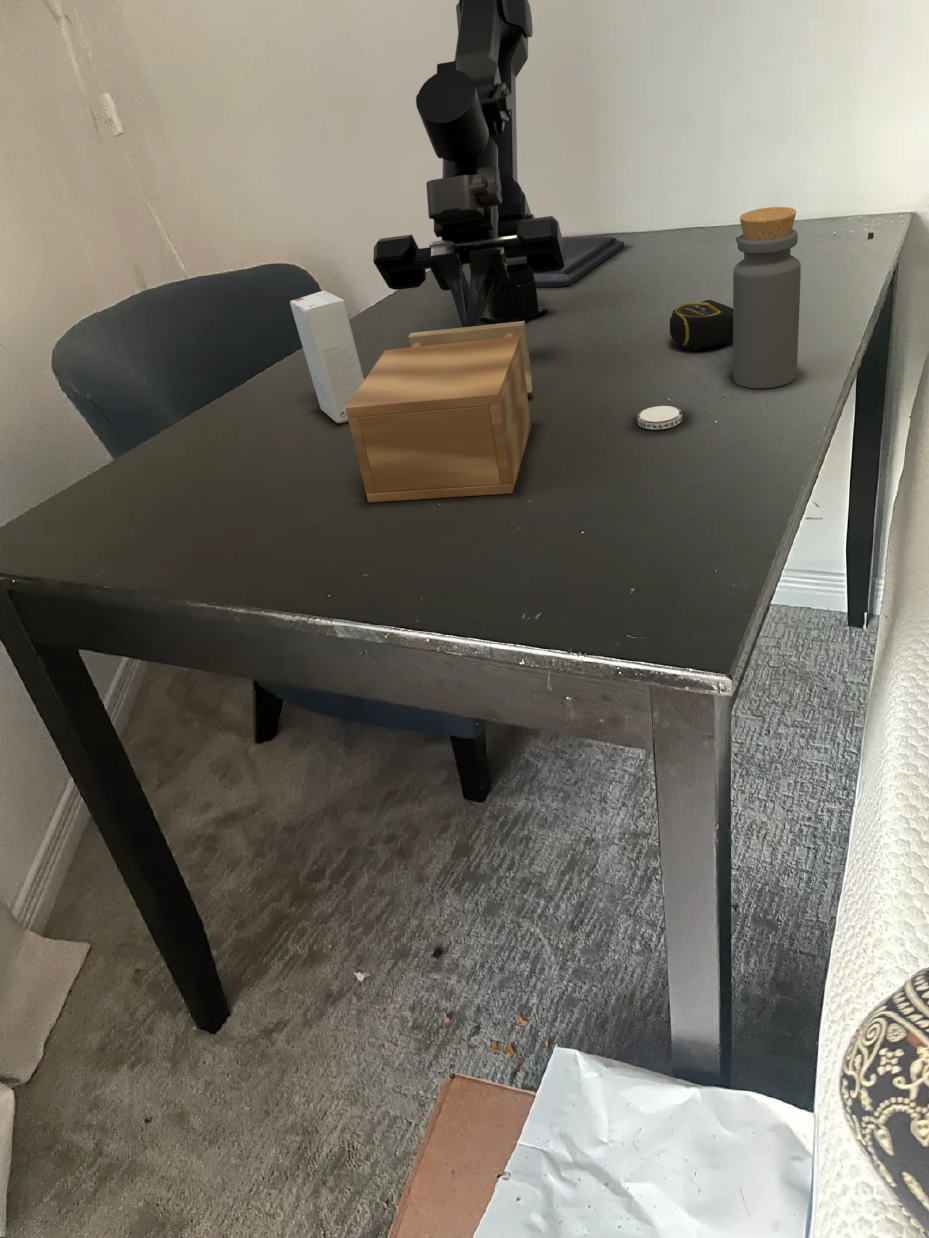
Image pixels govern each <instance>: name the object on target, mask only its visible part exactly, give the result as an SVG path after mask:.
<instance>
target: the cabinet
mask: <svg viewBox="0 0 929 1238" xmlns="http://www.w3.org/2000/svg"><path fill="white" fill-rule="evenodd" d="M345 409H346V413H347V417H348V425H349V430H350V434H351V437H352V442H353V447H354V450H355V455H356V458H357V459H356V460H357V463H358V466H359V470H360V474H361V475H360V476H361V479H362V483H363V487H364V493H365V495H366V499H367V503H369V504H370V503H383V502H384V503H385V502H399V501H400V502H401V501H402V502H403V501H415V500H429V499H430V500H431V499H433V500H434V499H446V498H462V497H478V496H492V495H493V496H495V495H510V494H513V493H514V489H515V486H516V482H517V479H518V475H519V471H520V468H521V464H522V461H523V457H524V453H525V451H526V446H527V443H528V439H529V436H530V433H531V429H532V420H531V411H530V404H529V397H528V393H527V388H526V380H525V372H524V364H523V357H522V349H521V340H520V336H517V337H507V338H498V339H488V340H478V341H469V342H459V343H449V344H439V345H430V346H420V347H410V346H409V347H402V348H393V349H385V350H384V351H383V353H382V354H381V355H380V357H379V358H378V360H377V361H376V363H375V364H374V365H373V367H372V369H371V370H370V372H368V375H366V377H365V378H364V382H363V383H362V384H361V386H360V387H359V389H358V390H357V392H356V393H355V394H354V396H353V397H352V399H351V400H350V402H349V403H348V404H347V406H346V407H345Z"/></svg>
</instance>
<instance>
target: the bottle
mask: <svg viewBox="0 0 929 1238" xmlns="http://www.w3.org/2000/svg"><path fill="white" fill-rule="evenodd" d="M796 214H797V210H796V209H794V208H793V207H786V206H771V207H763V208H762V207H761V208H757V209H753V210H748V211H746V212H744V213H742V214H741V215H740V217H739V222H740V227H741V230H742V231H741V232H742V234H741V235H739V236H738V237H737V244H736V245H737V246H736V247H737V250H738V251H739V252H742V253H743V259H742V260H740V261H739V262H737V263H736V265H735V266H734V268H733V273H732V291H733V292H732V308H733V339H732V374H733V375H732V376H733V377H732V378H733V381H734V383H735V384H736V385H738V386H740V387H743V388H747V389H748V388H749V389H755V390H757V389H758V390H760V389H772V388H773V389H774V388H778V387H782V386H785V385H788V384H790V383H792V382H793V381H795V379H796V378H797V374H798V373H797V370H798V355H799V354H798V353H799V331H800V330H799V329H800V328H799V327H800V307H801V306H800V303H801V278H802V277H801V274H802V273H801V272H802V267H801V266H802V264H801V262H800V260H799V259H798V258H797V257H795V256H794V255H792V254H791V249H792V248H794V247H795V246H796V245H798V241H799V239H798V238H799V237H798V236H799V234H798V231H797V230H796V229H794V224H795V219H796Z"/></svg>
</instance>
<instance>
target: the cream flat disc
mask: <svg viewBox="0 0 929 1238" xmlns="http://www.w3.org/2000/svg"><path fill="white" fill-rule="evenodd" d="M636 417H637V418H636V419H637V420H636V421H637V425H638V426H639V427H640V428H643V429H647V430H664V429H665V430H666V429H671V428H674V427H675V426H677V425H679V424H680V423H681V422H682V421H683V412H682V409H680V408H679V407H676V406H671V405H656V406H651V407H647V408H645V409H642V410H640V411H639V413H637V414H636Z"/></svg>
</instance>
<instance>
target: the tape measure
mask: <svg viewBox="0 0 929 1238" xmlns="http://www.w3.org/2000/svg"><path fill="white" fill-rule="evenodd" d="M669 335H670V337H671V339H672V341H673V342H674V343H676V344H678V345H681V346H684V347H686V348H687V347H688V348H692V349H695V350H699V349H700V348H709V347H716V346H719V345H720V344H721V345H722V344H723V343H726V342H728V341H731V340H733V307H730V306H728V305H726V304H723V303H720V302H718V301H715V300H712V299H705V300H703V301H700V302H690V303H685V304H683V305H679V306H678V307H676V308H675V309H674V310H672V313H671V316H670V318H669Z"/></svg>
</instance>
